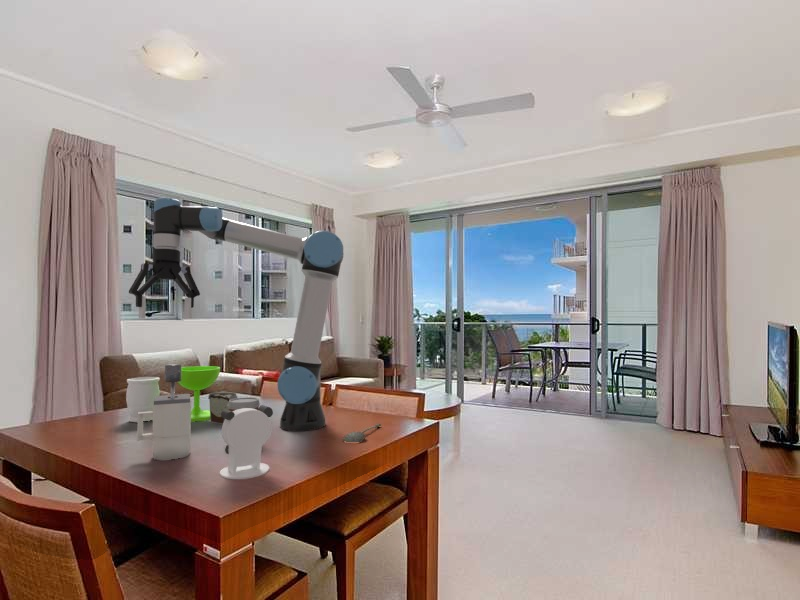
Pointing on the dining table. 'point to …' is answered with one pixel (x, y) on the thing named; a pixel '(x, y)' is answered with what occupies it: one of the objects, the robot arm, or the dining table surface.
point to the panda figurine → (245, 441)
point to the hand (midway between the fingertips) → (165, 318)
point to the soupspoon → (357, 435)
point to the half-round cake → (219, 405)
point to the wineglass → (198, 386)
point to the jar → (141, 396)
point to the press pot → (168, 426)
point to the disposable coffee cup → (243, 403)
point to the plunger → (173, 376)
